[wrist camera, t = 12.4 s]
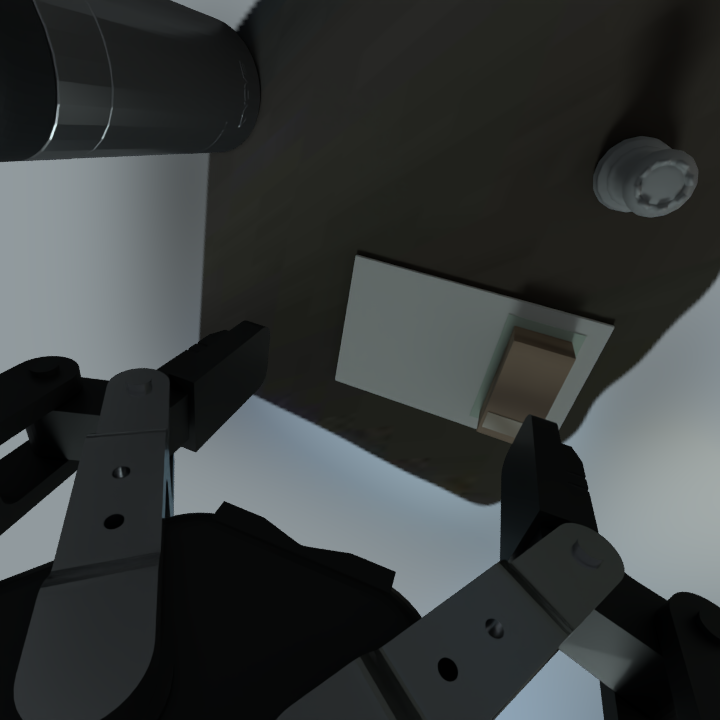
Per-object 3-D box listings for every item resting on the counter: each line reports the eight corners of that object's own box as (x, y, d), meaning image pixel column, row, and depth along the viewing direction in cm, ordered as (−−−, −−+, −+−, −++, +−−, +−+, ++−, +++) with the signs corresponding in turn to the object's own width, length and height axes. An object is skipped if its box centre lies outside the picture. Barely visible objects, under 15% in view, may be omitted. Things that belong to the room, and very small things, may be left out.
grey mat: (336, 378, 43) (334, 380, 42) (357, 254, 36) (355, 256, 36) (546, 450, 38) (546, 453, 38) (613, 325, 32) (614, 327, 31)
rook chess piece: (681, 133, 26) (736, 131, 19) (660, 210, 28) (703, 233, 21) (599, 137, 27) (624, 137, 20) (585, 210, 29) (603, 231, 22)
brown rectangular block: (514, 325, 34) (513, 340, 31) (572, 342, 33) (576, 359, 30) (479, 412, 38) (476, 431, 36) (529, 428, 37) (529, 450, 35)
